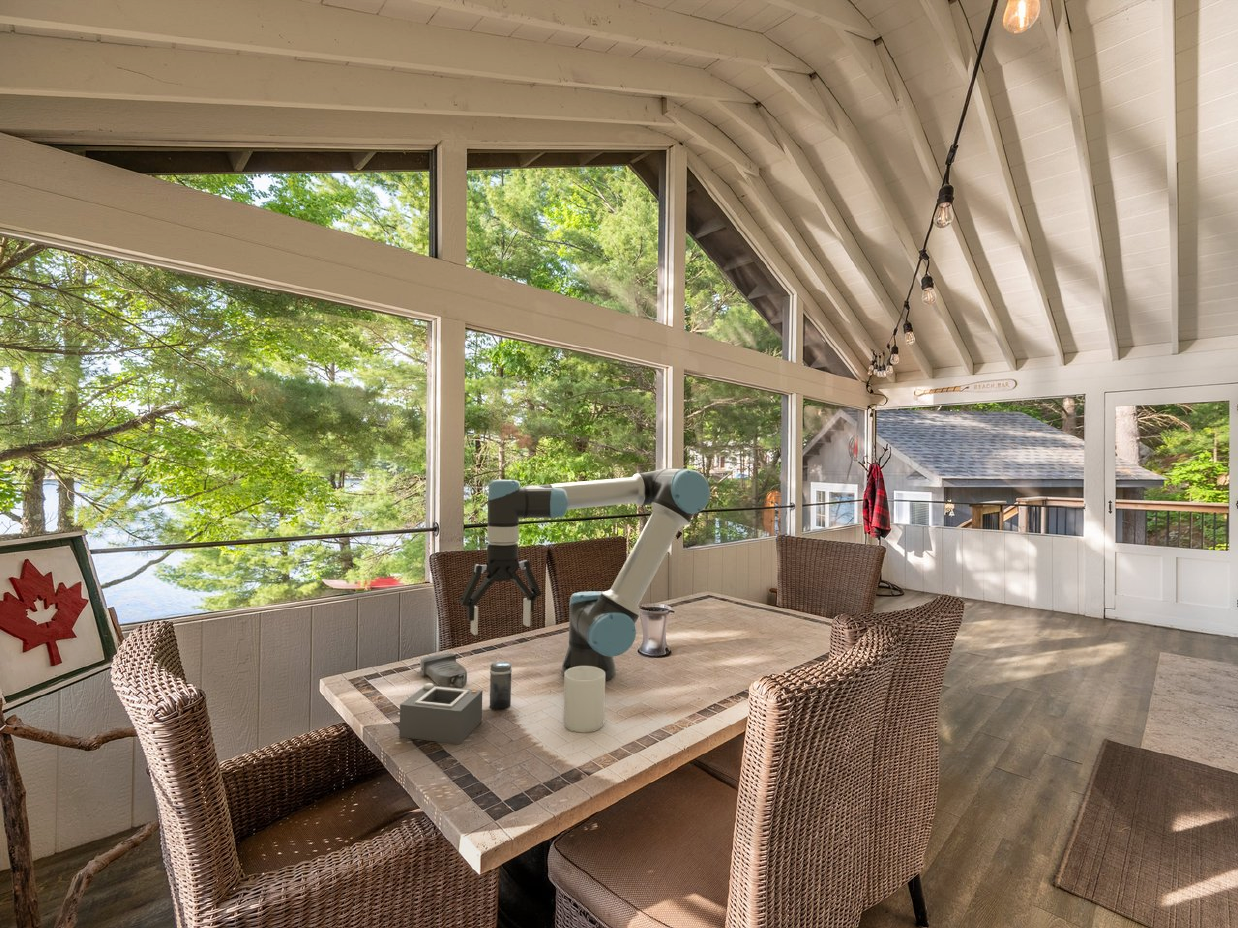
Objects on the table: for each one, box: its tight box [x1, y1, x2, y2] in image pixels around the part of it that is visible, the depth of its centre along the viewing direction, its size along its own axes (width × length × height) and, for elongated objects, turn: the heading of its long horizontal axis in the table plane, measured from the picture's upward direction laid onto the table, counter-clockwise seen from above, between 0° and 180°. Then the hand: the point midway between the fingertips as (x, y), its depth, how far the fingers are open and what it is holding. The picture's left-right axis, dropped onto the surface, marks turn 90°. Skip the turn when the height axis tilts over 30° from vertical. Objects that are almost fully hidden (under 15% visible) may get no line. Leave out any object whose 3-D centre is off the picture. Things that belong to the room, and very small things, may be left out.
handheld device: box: [419, 652, 468, 688], centre depth 154 cm, size 10×20×5 cm, turn 40°
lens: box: [489, 661, 513, 711], centre depth 138 cm, size 5×5×10 cm
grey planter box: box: [398, 682, 483, 745], centre depth 126 cm, size 14×11×8 cm
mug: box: [562, 666, 606, 734], centre depth 130 cm, size 10×12×12 cm
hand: (501, 629), depth 138 cm, fingers open, 13 cm apart
